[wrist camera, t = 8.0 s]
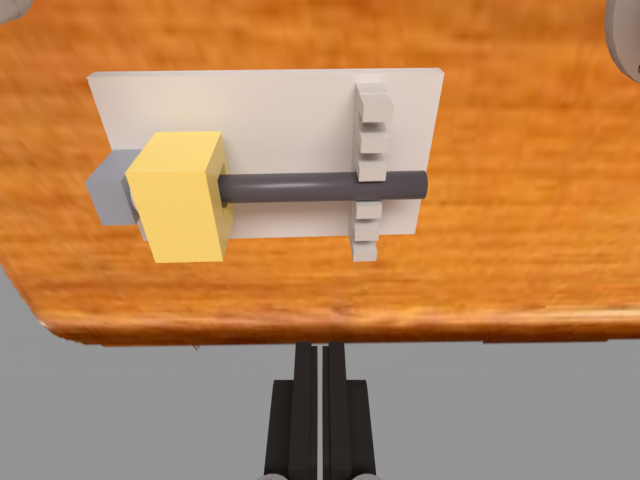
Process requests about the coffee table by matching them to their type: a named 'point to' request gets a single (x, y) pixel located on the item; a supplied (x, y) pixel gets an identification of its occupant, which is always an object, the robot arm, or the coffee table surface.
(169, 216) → the yellow sliding block
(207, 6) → the coffee table surface
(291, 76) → the comb board
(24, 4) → the mug
